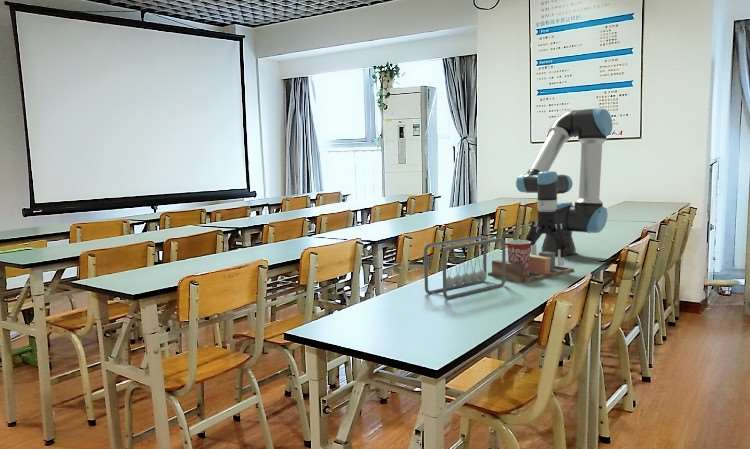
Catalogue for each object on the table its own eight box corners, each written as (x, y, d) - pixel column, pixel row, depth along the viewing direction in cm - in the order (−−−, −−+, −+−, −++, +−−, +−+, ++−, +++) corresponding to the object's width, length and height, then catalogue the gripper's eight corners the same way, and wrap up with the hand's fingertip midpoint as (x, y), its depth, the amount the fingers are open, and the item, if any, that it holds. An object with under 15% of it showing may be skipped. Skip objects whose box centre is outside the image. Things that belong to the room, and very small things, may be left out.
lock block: (538, 269, 240) (538, 252, 239) (546, 268, 242) (546, 251, 241) (547, 271, 236) (547, 254, 235) (555, 269, 239) (555, 252, 238)
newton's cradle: (444, 300, 197) (443, 247, 195) (424, 294, 206) (423, 244, 203) (506, 285, 215) (506, 237, 212) (484, 281, 223) (484, 234, 221)
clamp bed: (537, 264, 249) (537, 250, 249) (573, 271, 234) (573, 256, 234) (488, 275, 233) (487, 260, 232) (524, 282, 218) (524, 266, 217)
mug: (524, 280, 223) (524, 244, 221) (502, 277, 229) (502, 242, 227) (539, 273, 232) (539, 239, 230) (518, 271, 238) (518, 238, 236)
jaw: (521, 268, 241) (521, 252, 240) (550, 274, 229) (550, 257, 229) (516, 270, 239) (516, 254, 238) (545, 275, 228) (545, 258, 227)
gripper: (516, 209, 244) (516, 260, 247) (567, 213, 224) (566, 268, 226) (528, 207, 248) (528, 257, 251) (579, 211, 228) (579, 266, 231)
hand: (546, 263), depth 239 cm, fingers open, 13 cm apart
